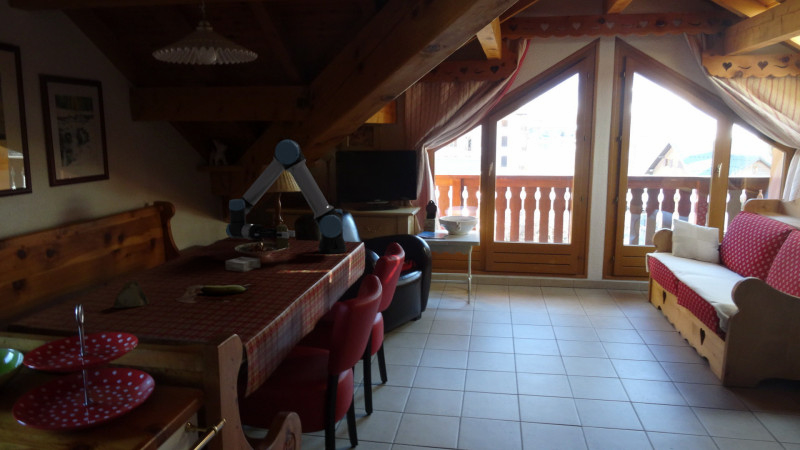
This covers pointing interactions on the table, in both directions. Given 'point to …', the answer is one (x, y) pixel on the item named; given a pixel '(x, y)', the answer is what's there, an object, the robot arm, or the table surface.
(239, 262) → the white stand
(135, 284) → the rock
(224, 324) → the table surface
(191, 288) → the brown green uneven piece
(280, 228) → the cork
